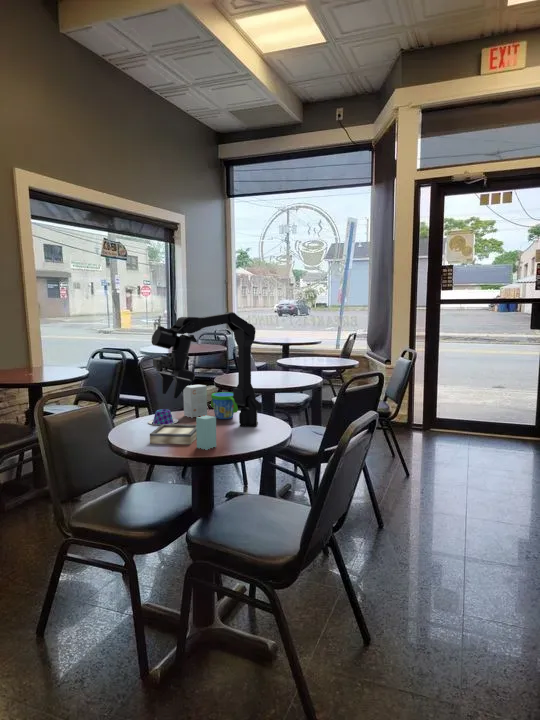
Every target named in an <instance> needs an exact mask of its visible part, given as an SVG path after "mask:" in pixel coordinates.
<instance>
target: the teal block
mask: <svg viewBox="0 0 540 720" xmlns="http://www.w3.org/2000/svg"><path fill="white" fill-rule="evenodd" d="M195 421H196V423H195V425H196V431H197V438H196V449H200V448H201V449H200V450H204V449H205V450H206V451H209V450H211V449H210V448H212V449H214V448H213V447H215V448H217V418H216V417H215V416H213V415H208V414H207V415H205V416H201V417H196V419H195ZM208 449H209V450H208ZM205 450H204V451H205Z"/></svg>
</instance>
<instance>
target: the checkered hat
mask: <svg viewBox="0 0 540 720" xmlns="http://www.w3.org/2000/svg"><path fill="white" fill-rule="evenodd" d="M173 420H174V421H175V422H174V421H173ZM152 422H153V424H152ZM178 422H179V419H178V418H173V414H172V411H171V409H167V408H165V409H164V408H162V409H157V410H156V411H155V413H154V416H153V419H150V420H148V422H147V423H148V424H149V425H154V426H156V425H158V426H161V425H162V424H177V423H178Z"/></svg>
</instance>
